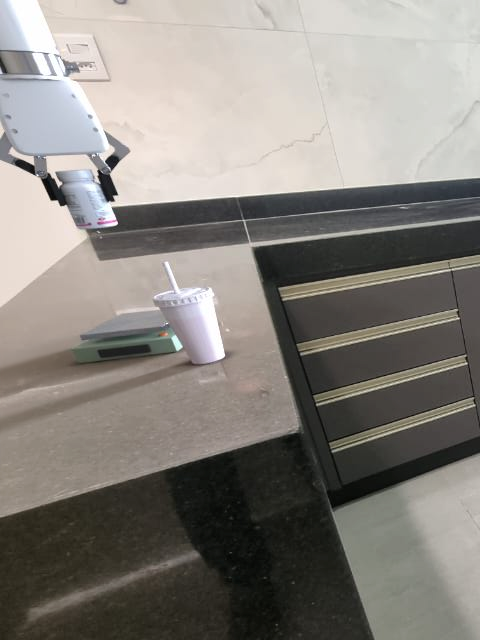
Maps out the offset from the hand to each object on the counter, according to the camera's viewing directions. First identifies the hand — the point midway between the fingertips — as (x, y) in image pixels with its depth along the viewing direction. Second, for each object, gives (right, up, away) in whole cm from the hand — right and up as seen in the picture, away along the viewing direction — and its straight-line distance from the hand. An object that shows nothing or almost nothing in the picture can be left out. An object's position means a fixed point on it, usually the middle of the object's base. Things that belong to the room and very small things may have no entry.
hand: (87, 202), depth 81 cm
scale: (+10, -22, 0) cm, 24 cm away
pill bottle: (0, -4, +2) cm, 4 cm away
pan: (+10, -19, -1) cm, 21 cm away
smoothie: (+25, -24, -7) cm, 35 cm away
